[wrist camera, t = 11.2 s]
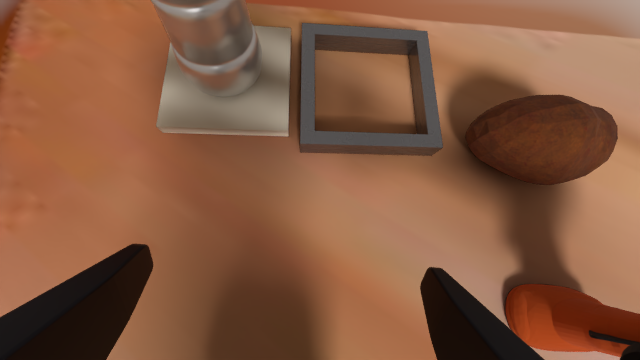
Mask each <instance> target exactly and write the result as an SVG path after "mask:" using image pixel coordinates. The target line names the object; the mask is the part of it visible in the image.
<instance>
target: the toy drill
mask: <svg viewBox="0 0 640 360" xmlns="http://www.w3.org/2000/svg"><path fill="white" fill-rule="evenodd" d="M506 316H507V321H508V324H509V327H510V329H511V330H512V331H513V332H514V333H515V334H516V335H517V336H518V337H520V338H521V339H522V340H523V341H524V342H525V343H526V344H527V345H528V346H531V347H534V348H537V349H542V350H548V351H565V352H589V351H598V352H602V353H606V354H610V355H614V356H618V357H621V358H620V360H640V314H637V313H633V312H629V311H625V310H621V309H618V308H614V307H610V306H606V305H603V304H602V303H601V302H599V301H598V300H597V299H595V298H593V297H591V296H588V295H586V294H584V293H581V292H579V291H577V290H574V289H570V288H567V287H561V286H554V285H543V284H524V285H520V286H517V287H515V288H513V289H512V290H511V291H510V292H509V294H508V296H507V299H506Z"/></svg>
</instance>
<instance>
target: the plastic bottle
mask: <svg viewBox="0 0 640 360" xmlns="http://www.w3.org/2000/svg"><path fill="white" fill-rule="evenodd" d="M151 1H152V3H153V4H154V7H155V9H156V11H157V13H158V15H159V17H160V20H161V22H162V24H163V26H164V28H165V30H166V33H167V35H168V37H169V39H170V41H171V45H172V49H173V52H174V55H175V58H176V60H177V63H178V65H179V68H180V70H181V71H182V73H183V75H184V76H185V77H186V78H187V79H188V80H189V81H190V82H191V83H192V84H193V85H194V86H195V87H196V88H197V89H198V90H200V91H202V92H203V93H206V94H208V95H212V96H217V97H230V96H235V95H238V94H241V93H243V92H244V91H246V90H247V89H248V88H250V87H251V86H252V85H253V84H254V83H255V82H256V80H257V79H258V77H259V75H260V72H261V64H262V48H261V44H260V41H259V38H258V35H257V33H256V31H255V28H254V26H253V24H252V22H251V19H250V16H249V12H248V9H247V5H246V2H245V0H151Z"/></svg>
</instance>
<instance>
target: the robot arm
mask: <svg viewBox="0 0 640 360" xmlns="http://www.w3.org/2000/svg"><path fill="white" fill-rule="evenodd" d="M152 269H153V261H152V257H151V253H150V250H149V247H148V246H147V245H145V244H131V245H129V246H127V247H126V248H124V249H122V250H120V251H118V252H117V253H115V254H113V255H111V256H109V257H108V258H106V259H104V260H102V261H100V262H99V263H97V264H95V265H93V266H91V267H90V268H88V269H86V270H84V271H82V272H81V273H79V274H77V275H75V276H73V277H72V278H70V279H68V280H66V281H65V282H63V283H61V284H59V285H57V286H56V287H54V288H52V289H50V290H48V291H47V292H45V293H43V294H41V295H39V296H38V297H36V298H34V299H32V300H30V301H29V302H27V303H25V304H23V305H21V306H20V307H18V308H16V309H14V310H12V311H11V312H9V313H7V314H5V315H3V316H2V317H0V360H106V359H107V357H108V356H109V354H110V352H111V350H112V349H113V347H114V345H115V344H116V342H117V340H118V338H119V337H120V335H121V333H122V332H123V330H124V328H125V326H126V325H127V323H128V321H129V319H130V317H131V315H132V313H133V311H134V309H135V307H136V305H137V302H138V300H139V298H140V296H141V294H142V292H143V289H144V287H145V285H146V283H147V281H148V278H149V276H150V274H151V272H152ZM420 290H421V295H422V300H423V305H424V310H425V314H426V319H427V324H428V329H429V333H430V337H431V341H432V344H433V348H434V351H435V354H436V357H437V360H544V359H543V358H542V357H541V356H540V355H539V354H537V353H536V352H535V351H534V350H533V349H532V348H531V347H530V346H528V345H527V344H526V343H525V342H524V341H523V340H522V339H521V338H520V337H518V336H517V335H516V334H515V333H514V332H513V331H512V330H511V329H509V328H508V327H507V326H506V325H505V324H504V323H503V322H502V321H500V320H499V319H498V318H497V317H496V316H495V315H494V314H493V313H491V312H490V311H489V310H488V309H487V308H486V307H485V306H484V305H482V304H481V303H480V302H479V301H478V300H477V299H476V298H475V297H473V296H472V295H471V294H470V293H469V292H468V291H467V290H466V289H465V288H463V287H462V286H461V285H460V284H459V283H458V282H457V281H456V280H454V279H453V278H452V277H451V276H450V275H449V274H448V273H447V272H445V271H444V270H443V269H441V268H435V267H429V268H428V269H427V271H426V273H425V275H424V278H423V280H422V282H421V286H420Z"/></svg>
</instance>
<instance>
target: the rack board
mask: <svg viewBox="0 0 640 360" xmlns="http://www.w3.org/2000/svg"><path fill="white" fill-rule="evenodd" d="M254 28H255V31H256V33H257V35H258V38H259V41H260V44H261V48H262V64H261V72H260V75H259V77H258V79H257V80H256V82H255V83H254V84H253V85H252V86H251V87H250V88H248V89H247V90H246V91H244V92H243V93H241V94H238V95H235V96H230V97H217V96H212V95H208V94H206V93H203V92H202V91H200V90H198V89H197V88H196V87H195V86H194V85H193V84H192V83H191V82H190V81H189V80H188V79H187V78H186V77H185V76H184V75H183V73H182V71H181V70H180V68H179V65H178V63H177V60H176V58H175V55H174V52H173V49H172V45H171V43H170V48H169V54H168V60H167V66H166V72H165V78H164V83H163V89H162V95H161V101H160V107H159V113H158V118H157V124H156V127H157V128H158V129H159V130H161V131H162V132H163V133H190V134H223V135H256V136H288V135H289V99H290V64H291V28H283V27H267V26H254Z"/></svg>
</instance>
